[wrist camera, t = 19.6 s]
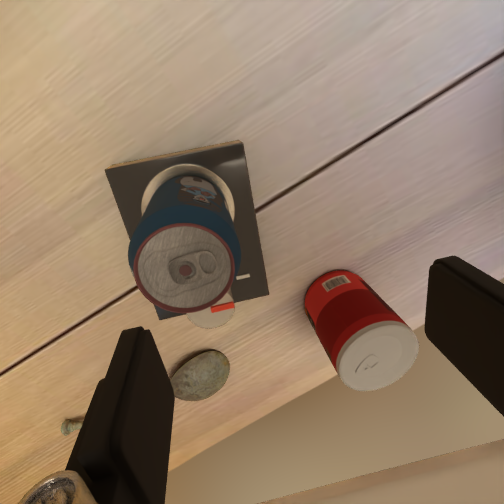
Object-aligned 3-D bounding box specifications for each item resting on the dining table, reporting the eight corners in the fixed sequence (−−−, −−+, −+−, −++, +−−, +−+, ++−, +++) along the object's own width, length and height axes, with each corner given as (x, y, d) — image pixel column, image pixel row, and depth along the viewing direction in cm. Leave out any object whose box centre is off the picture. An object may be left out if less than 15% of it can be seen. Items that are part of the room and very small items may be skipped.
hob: (111, 164, 29) (103, 169, 27) (239, 139, 30) (243, 142, 28) (165, 316, 36) (162, 331, 34) (266, 292, 37) (271, 305, 35)
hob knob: (193, 306, 34) (192, 335, 29) (181, 270, 32) (179, 296, 27) (233, 296, 34) (239, 324, 30) (225, 260, 32) (229, 284, 28)
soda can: (166, 255, 30) (150, 335, 20) (137, 185, 27) (99, 235, 17) (236, 234, 31) (257, 302, 20) (215, 163, 28) (226, 198, 17)
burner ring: (224, 155, 28) (224, 155, 28) (241, 241, 31) (242, 243, 31) (128, 174, 27) (127, 175, 27) (157, 260, 31) (157, 261, 31)
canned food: (290, 311, 39) (322, 380, 29) (326, 257, 37) (375, 312, 27) (338, 330, 41) (383, 400, 32) (375, 281, 39) (436, 340, 29)
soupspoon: (236, 373, 43) (218, 336, 40) (239, 393, 39) (220, 354, 37) (80, 438, 42) (51, 404, 39) (71, 463, 39) (39, 428, 36)
